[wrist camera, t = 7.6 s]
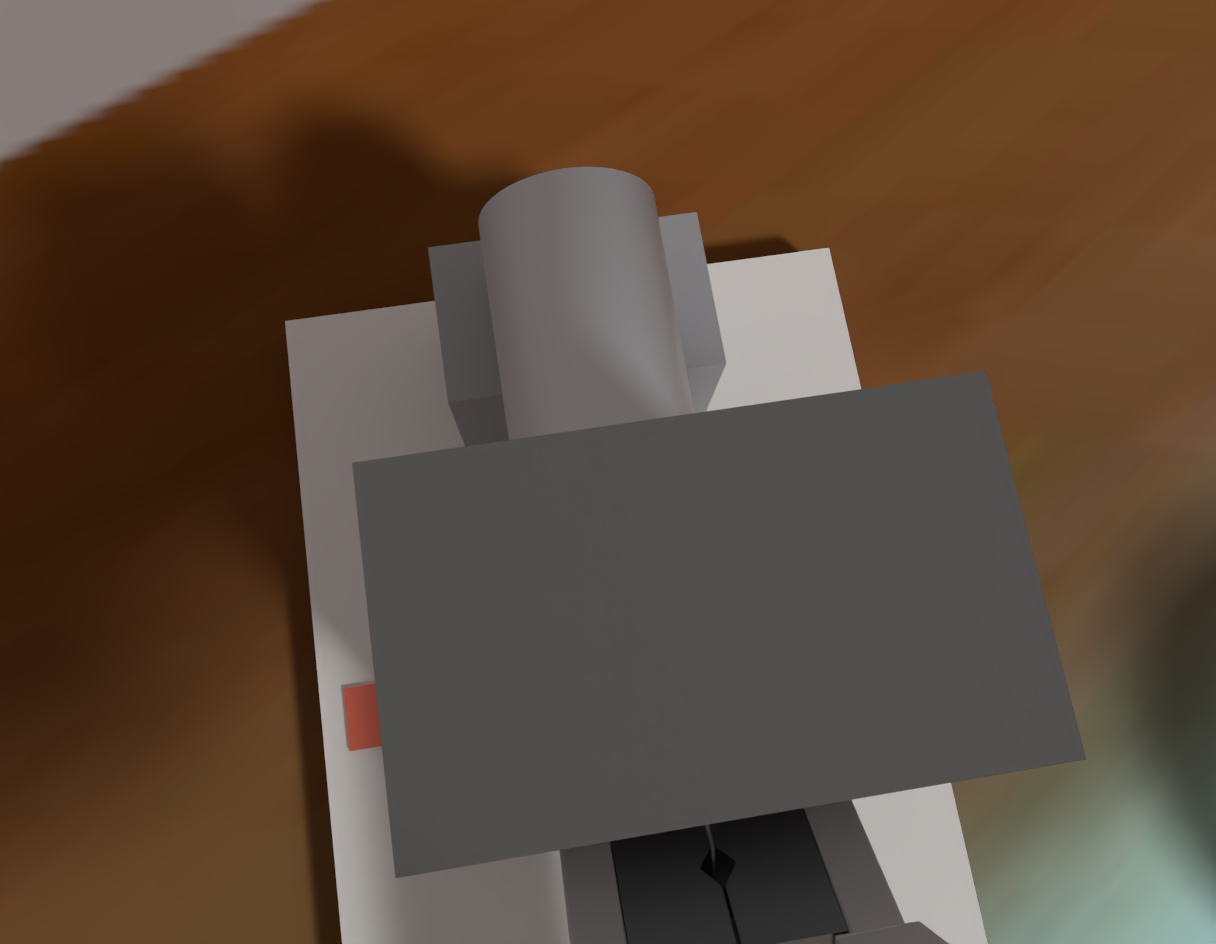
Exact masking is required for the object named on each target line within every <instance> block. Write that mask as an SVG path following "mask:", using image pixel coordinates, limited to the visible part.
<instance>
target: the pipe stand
mask: <svg viewBox="0 0 1216 944" xmlns="http://www.w3.org/2000/svg"><path fill="white" fill-rule="evenodd" d="M478 226H479V233H480V241H473V242H465V243H458V244H450V245H442V246H435V247H428V252H429V259H430V267H431V275H432V283H433V290H434V298H435V301H430V302H423V303H415V304H408V305H400V306H393V307H386V308H378V309H371V310H363V311H356V312H349V313H341V314H334V315H326V316H319V317H311V318H304V319H297V320H289V321H285V327H286V338H287V349H288V360H289V371H290V382H291V393H292V403H293V414H294V425H295V436H296V447H297V458H298V469H299V480H300V491H301V502H302V512H303V523H304V534H305V545H306V556H307V567H308V578H309V589H310V600H311V610H312V621H313V632H314V643H315V654H316V665H317V676H318V687H319V698H320V709H321V719H322V730H323V741H324V752H325V763H326V774H327V785H328V796H329V807H330V817H331V828H332V839H333V850H334V861H335V872H336V883H337V894H338V905H339V916H340V926H341V937H342V944H570V939H569V931H568V922H567V913H566V904H565V895H564V886H563V877H562V868H561V859H560V850H557V851H551V852H545V853H540V854H534V855H528V856H522V857H516V858H511V859H505V860H499V861H493V862H487V863H482V864H476V865H470V866H464V867H458V868H453V869H447V870H441V871H435V872H429V873H424V874H418V875H412V876H406V877H400V878H395V869H394V860H393V850H392V841H391V831H390V821H389V812H388V802H387V793H386V783H385V774H384V764H383V754H382V745H381V735H380V726H379V716H378V707H377V697H376V687H375V678H374V668H373V659H372V649H371V640H370V630H369V620H368V611H367V601H366V592H365V582H364V572H363V563H362V553H361V544H360V534H359V525H358V515H357V505H356V496H355V486H354V477H353V467H352V463H354V462H360V461H367V460H374V459H381V458H388V457H395V456H402V455H409V454H416V453H423V452H430V451H437V450H443V449H450V448H457V447H464V446H471V445H478V444H485V443H492V442H499V441H506V440H513V439H520V438H526V437H533V436H540V435H547V434H554V433H561V432H568V431H575V430H582V429H589V428H596V427H603V426H609V425H616V424H623V423H630V422H637V421H644V420H651V419H658V418H665V417H672V416H679V415H686V414H692V413H699V412H706V411H713V410H720V409H727V408H734V407H741V406H748V405H755V404H762V403H769V402H775V401H782V400H789V399H796V398H803V397H810V396H817V395H824V394H831V393H838V392H845V391H852V390H858V389H861V386H860V382H859V378H858V373H857V369H856V364H855V360H854V356H853V351H852V347H851V342H850V338H849V334H848V329H847V325H846V320H845V316H844V312H843V307H842V303H841V298H840V294H839V290H838V285H837V281H836V277H835V272H834V268H833V263H832V259H831V255H830V250H829V248H824V249H816V250H809V251H801V252H794V253H787V254H779V255H772V256H764V257H757V258H749V259H742V260H735V261H727V262H720V263H712V264H707V262H706V257H705V252H704V247H703V242H702V237H701V232H700V226H699V221H698V216H697V212H694V213H686V214H679V215H671V216H664V217H658V214H657V209H656V203H655V198H654V194H653V191H652V190H651V188H650V187H649V185H648V184H647V183H646V182H644V181H643V180H642V179H640V178H638V177H636V176H635V175H633V174H630V173H627V172H624V171H620V170H616V169H610V168H603V167H574V168H565V169H558V170H553V171H548V172H544V173H540V174H537V175H534V176H531V177H528V178H525V179H523V180H520V181H518V182H516V183H514V184H512V185H510V186H508V187H506V188H505V189H503V190H501V191H500V192H498V193H497V194H496V195H495V196H493V197H492V198H491V199H490V200H489V201H488V202H487V203H486V205H485V206H484V207H483V209H482V211H481V213H480V215H479V219H478ZM852 802H853V804H854V807H855V809H856V811H857V814H858V816H859V818H860V821H861V823H862V825H863V828H864V830H865V832H866V834H867V837H868V839H869V841H870V844H871V846H872V848H873V851H874V853H875V855H876V858H877V860H878V862H879V864H880V867H881V869H882V871H883V874H884V876H885V878H886V881H887V883H888V885H889V888H890V890H891V892H892V894H893V897H894V899H895V901H896V904H897V906H898V908H899V911H900V913H901V915H902V918H903V920H904V922H905V923H909V922H916V921H920V922H921V923H922V924H924V925H925V926H926V927H928V928H929V929H930V930H932V931H933V932H934V933H935V934H937V935H938V936H939V937H941V938H942V939H943V940H945V941H946V942H947V943H949V944H987V940H986V935H985V931H984V927H983V922H982V918H981V913H980V909H979V905H978V900H977V896H976V891H975V887H974V883H973V878H972V874H971V869H970V865H969V861H968V856H967V852H966V847H965V843H964V839H963V834H962V830H961V826H960V821H959V817H958V812H957V808H956V804H955V799H954V795H953V790H952V786H951V783H946V784H940V785H934V786H928V787H923V788H917V789H911V790H905V791H899V792H894V793H888V794H882V795H876V796H870V797H865V798H859V799H853V800H852Z"/></svg>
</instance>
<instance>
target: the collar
mask: <svg viewBox="0 0 1216 944" xmlns="http://www.w3.org/2000/svg"><path fill="white" fill-rule="evenodd" d="M352 467H353V477H354V486H355V496H356V505H357V515H358V525H359V534H360V544H361V553H362V563H363V572H364V582H365V592H366V601H367V611H368V620H369V630H370V640H371V649H372V659H373V668H374V678H375V687H376V697H377V707H378V716H379V726H380V735H381V745H382V754H383V764H384V774H385V783H386V793H387V802H388V812H389V821H390V831H391V841H392V850H393V860H394V869H395V878H400V877H406V876H412V875H418V874H424V873H429V872H435V871H441V870H447V869H453V868H458V867H464V866H470V865H476V864H482V863H487V862H493V861H499V860H505V859H511V858H516V857H522V856H528V855H534V854H540V853H545V852H551V851H557V850H563V849H569V848H574V847H580V846H586V845H592V844H598V843H603V842H609V841H615V840H621V839H627V838H632V837H638V836H644V835H650V834H656V833H661V832H667V831H673V830H679V829H685V828H690V827H696V826H702V825H708V824H714V823H719V822H725V821H731V820H737V819H743V818H748V817H754V816H760V815H766V814H772V813H777V812H783V811H789V810H795V809H801V808H807V807H812V806H818V805H824V804H830V803H836V802H841V801H847V800H853V799H859V798H865V797H870V796H876V795H882V794H888V793H894V792H899V791H905V790H911V789H917V788H923V787H928V786H934V785H940V784H946V783H952V782H957V781H963V780H969V779H975V778H981V777H986V776H992V775H998V774H1004V773H1010V772H1015V771H1021V770H1027V769H1033V768H1039V767H1044V766H1050V765H1056V764H1062V763H1068V762H1073V761H1079V760H1085V759H1086V757H1085V753H1084V749H1083V745H1082V741H1081V737H1080V733H1079V729H1078V726H1077V722H1076V718H1075V714H1074V710H1073V706H1072V702H1071V699H1070V695H1069V691H1068V687H1067V683H1066V679H1065V675H1064V671H1063V668H1062V664H1061V660H1060V656H1059V652H1058V648H1057V644H1056V641H1055V637H1054V633H1053V629H1052V625H1051V621H1050V617H1049V613H1048V610H1047V606H1046V602H1045V598H1044V594H1043V590H1042V586H1041V582H1040V579H1039V575H1038V571H1037V567H1036V563H1035V559H1034V555H1033V552H1032V548H1031V544H1030V540H1029V536H1028V532H1027V528H1026V524H1025V521H1024V517H1023V513H1022V509H1021V505H1020V501H1019V497H1018V494H1017V490H1016V486H1015V482H1014V478H1013V474H1012V470H1011V466H1010V463H1009V459H1008V455H1007V451H1006V447H1005V443H1004V439H1003V436H1002V432H1001V428H1000V424H999V420H998V416H997V412H996V408H995V405H994V401H993V397H992V393H991V389H990V385H989V381H988V377H987V374H986V371H983V372H976V373H969V374H962V375H955V376H948V377H941V378H935V379H928V380H921V381H914V382H907V383H900V384H893V385H886V386H879V387H872V388H865V389H858V390H852V391H845V392H838V393H831V394H824V395H817V396H810V397H803V398H796V399H789V400H782V401H775V402H769V403H762V404H755V405H748V406H741V407H734V408H727V409H720V410H713V411H706V412H699V413H692V414H686V415H679V416H672V417H665V418H658V419H651V420H644V421H637V422H630V423H623V424H616V425H609V426H603V427H596V428H589V429H582V430H575V431H568V432H561V433H554V434H547V435H540V436H533V437H526V438H520V439H513V440H506V441H499V442H492V443H485V444H478V445H471V446H464V447H457V448H450V449H443V450H437V451H430V452H423V453H416V454H409V455H402V456H395V457H388V458H381V459H374V460H367V461H360V462H354V463H352Z"/></svg>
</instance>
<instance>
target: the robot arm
mask: <svg viewBox="0 0 1216 944" xmlns="http://www.w3.org/2000/svg"><path fill="white" fill-rule="evenodd" d="M560 859H561V868H562V877H563V886H564V895H565V904H566V913H567V922H568V931H569V939H570V944H949V943H947V942H946V941H945V940H943V939H942V938H941V937H939V936H938V935H937V934H935V933H934V932H933V931H932V930H930V929H929V928H928V927H926V926H925V925H924V924H922V923H921V922H920V921H916V922H909V923H905V922H904V920H903V918H902V915H901V913H900V911H899V908H898V906H897V904H896V901H895V899H894V897H893V894H892V892H891V890H890V888H889V885H888V883H887V881H886V878H885V876H884V874H883V871H882V869H881V867H880V864H879V862H878V860H877V858H876V855H875V853H874V851H873V848H872V846H871V844H870V841H869V839H868V837H867V834H866V832H865V830H864V828H863V825H862V823H861V821H860V818H859V816H858V814H857V811H856V809H855V807H854V804H853V802H852V800H847V801H841V802H836V803H830V804H824V805H818V806H812V807H807V808H801V809H795V810H789V811H783V812H777V813H772V814H766V815H760V816H754V817H748V818H743V819H737V820H731V821H725V822H719V823H714V824H708V825H702V826H696V827H690V828H685V829H679V830H673V831H667V832H661V833H656V834H650V835H644V836H638V837H632V838H627V839H621V840H615V841H609V842H603V843H598V844H592V845H586V846H580V847H574V848H569V849H563V850H560Z"/></svg>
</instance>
